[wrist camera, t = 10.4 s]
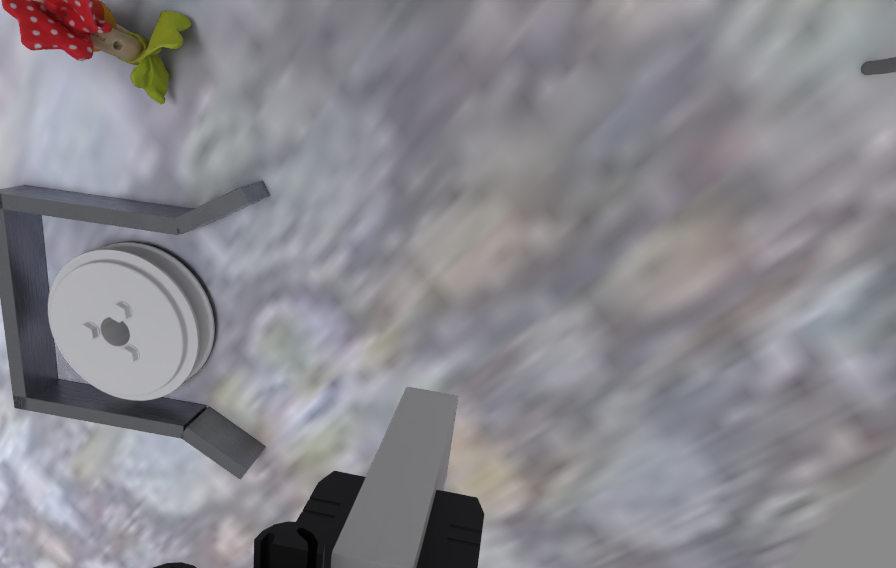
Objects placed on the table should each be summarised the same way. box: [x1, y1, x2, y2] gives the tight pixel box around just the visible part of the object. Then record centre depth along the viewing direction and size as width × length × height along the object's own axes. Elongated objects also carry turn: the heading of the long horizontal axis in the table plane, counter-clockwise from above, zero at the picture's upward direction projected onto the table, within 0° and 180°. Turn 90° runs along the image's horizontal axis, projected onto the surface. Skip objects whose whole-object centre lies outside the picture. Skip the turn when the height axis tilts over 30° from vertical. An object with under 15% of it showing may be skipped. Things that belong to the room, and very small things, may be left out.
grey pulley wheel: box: [48, 242, 215, 401], centre depth 48 cm, size 13×13×5 cm
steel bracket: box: [0, 181, 270, 479], centre depth 48 cm, size 24×21×4 cm
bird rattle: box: [2, 0, 191, 104], centre depth 39 cm, size 6×11×9 cm
